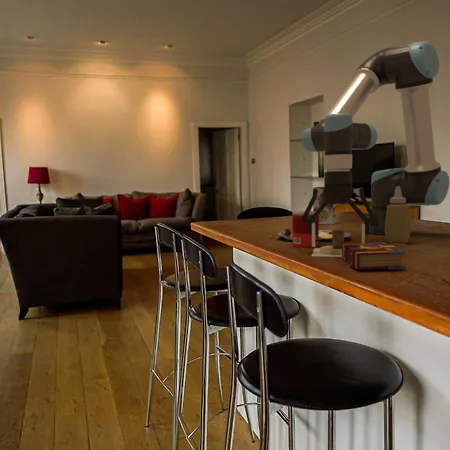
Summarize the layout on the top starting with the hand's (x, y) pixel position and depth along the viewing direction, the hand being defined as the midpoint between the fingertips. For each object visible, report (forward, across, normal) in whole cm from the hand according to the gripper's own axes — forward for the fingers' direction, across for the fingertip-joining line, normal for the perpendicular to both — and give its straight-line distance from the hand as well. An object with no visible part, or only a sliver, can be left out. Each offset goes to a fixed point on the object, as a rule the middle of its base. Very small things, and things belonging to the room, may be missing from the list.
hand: (338, 246), depth 143 cm
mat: (+2, 0, 0) cm, 2 cm away
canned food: (+2, +10, -12) cm, 16 cm away
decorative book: (+2, -8, +15) cm, 17 cm away
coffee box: (+2, +7, -81) cm, 81 cm away
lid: (+2, 0, 0) cm, 2 cm away
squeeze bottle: (+2, -18, -23) cm, 29 cm away
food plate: (+3, +9, -32) cm, 33 cm away
